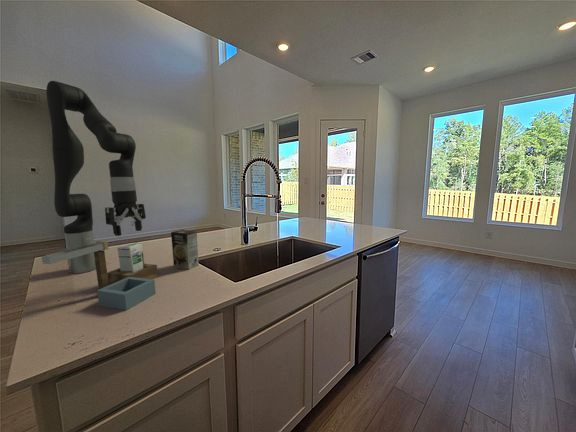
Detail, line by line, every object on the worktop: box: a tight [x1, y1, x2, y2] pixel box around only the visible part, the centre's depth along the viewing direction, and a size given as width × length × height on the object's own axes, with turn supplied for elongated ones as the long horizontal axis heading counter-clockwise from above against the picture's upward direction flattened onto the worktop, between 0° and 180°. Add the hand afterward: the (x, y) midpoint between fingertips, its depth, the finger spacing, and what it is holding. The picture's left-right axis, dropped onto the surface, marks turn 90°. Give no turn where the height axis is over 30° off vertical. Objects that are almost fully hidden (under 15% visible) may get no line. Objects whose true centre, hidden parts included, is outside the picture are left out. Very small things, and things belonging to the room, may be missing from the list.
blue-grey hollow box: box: [96, 277, 157, 311], centre depth 79 cm, size 11×11×5 cm
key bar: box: [41, 240, 109, 265], centre depth 74 cm, size 4×16×3 cm, turn 164°
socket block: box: [94, 250, 159, 290], centre depth 89 cm, size 12×18×15 cm, turn 164°
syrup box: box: [117, 242, 145, 273], centre depth 93 cm, size 6×6×14 cm
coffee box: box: [170, 229, 199, 270], centre depth 108 cm, size 9×6×16 cm
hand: (128, 233), depth 91 cm, fingers open, 8 cm apart
